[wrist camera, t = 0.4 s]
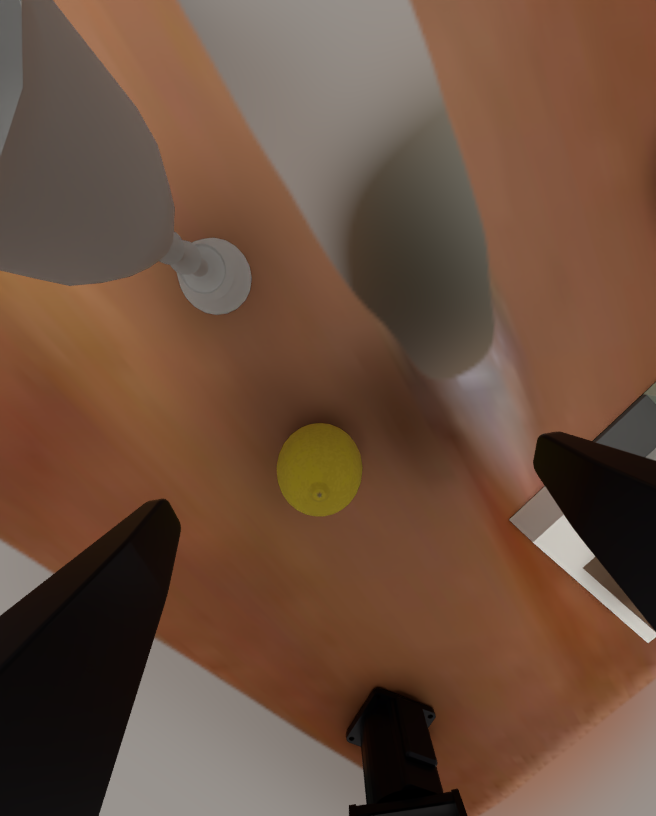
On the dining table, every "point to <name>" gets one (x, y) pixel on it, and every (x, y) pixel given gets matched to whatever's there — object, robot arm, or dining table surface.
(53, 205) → the chalice
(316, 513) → the lemon
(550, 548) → the board
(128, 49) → the dining table surface
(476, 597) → the dining table surface
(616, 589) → the walnut block
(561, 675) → the dining table surface
